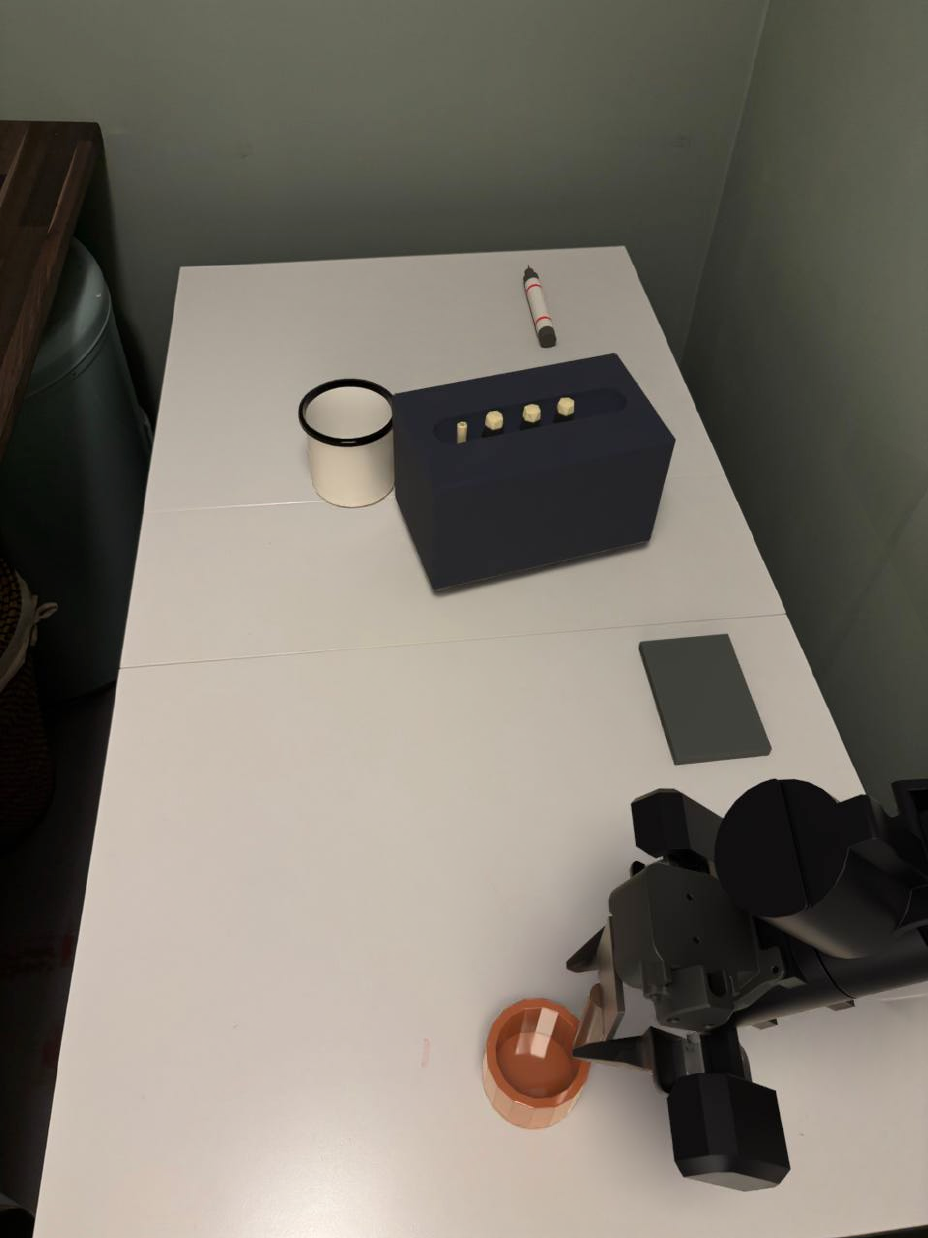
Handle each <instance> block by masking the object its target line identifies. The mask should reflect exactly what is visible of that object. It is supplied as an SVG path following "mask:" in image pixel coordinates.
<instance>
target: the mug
mask: <svg viewBox="0 0 928 1238" xmlns="http://www.w3.org/2000/svg"><path fill="white" fill-rule="evenodd" d="M393 395H394V394H393V393H392V392H390V390H389V389H387V388H386V387H384V386H382V385H381V384H379V383H376V382H373V381H371V380H367V379H361V378H339V379H334V380H329V381H326V382H323V383H321V384H319V385H317V386H315V387H313V388H312V389H310V391H308V392H306V394H305V395H304V396H303V398H302V399H301V400H300V401H299V402H300V403H299V405H298V411H297V418H298V423H299V425H300V427H301V428H302V430H303V432H305V433H306V441H307V443H306V444H307V450H308V451H307V452H308V456H309V457H308V458H309V467H310V476H311V482H312V487H313V489H314V490H315V492H316V493H317V494H318V496H319V497H321V498H322V499H323V500H325V501H326V502H329V503H331V504H333V505H336V506H339V507H340V506H341V507H347V508H357V507H358V508H359V507H364V506H367V505H371V504H374V503H376V502H379V501H380V500H382V499H383V498H384V497H386V496H387V495H388V494H389V493H390V492H391V490H392V489H393V487H394V486H395V476H394V450H393V423H392V396H393Z"/></svg>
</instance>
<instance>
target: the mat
mask: <svg viewBox="0 0 928 1238" xmlns="http://www.w3.org/2000/svg"><path fill="white" fill-rule="evenodd" d="M638 645H639V646H638V651H639V655H640V657H641V661H642V665H643V667H644V670H645V674H646V677H647V681H648V684H649V687H650V690H651V693H652V697H653V699H654V704H655V706H656V709H657V714H658V717H659V719H660V723H661V726H662V730H663V732H664V735H665V739H666V742H667V745H668V746H667V747H668V749H669V751H670V755H671V758H672V761H673V764H674V766H682V765H690V764H699V763H709V762H717V761H728V760H736V759H737V760H739V759H746V758H747V759H748V758H756V757H765V756H770V754H771V752H772V750H773V749H772V746H771V742H770V740H769V737H768V735H767V733H766V729H765V726H764V724H763V722H762V719H761V716H760V714H759V712H758V711H759V710H758V708H757V706H756V704H755V701H754V699H753V696H752V693H751V690H750V688H749V685H748V683H747V679H746V677H745V675H744V672H743V670H742V666H741V664H740V662H739V659H738V657H737V654H736V652H735V649H734V646H733V644H732V641H731V638H730V636H729V633H719V634H718V633H717V634H708V635H699V636H698V635H697V636H687V637H675V638H664V639H654V640H643V641H640V642H639V644H638Z"/></svg>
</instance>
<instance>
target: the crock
mask: <svg viewBox="0 0 928 1238" xmlns="http://www.w3.org/2000/svg"><path fill="white" fill-rule="evenodd" d="M579 1021H580V1019H579V1018H578V1017H576V1015H574V1013H572V1012H571V1011H570V1010H568V1009H567V1008H566V1007H565V1006H564V1005H562V1004H561V1003H558V1002H554V1001H552V1000H548V999H546V998H542V997H541V998H526V999H525V998H524V999H521V1000H519V1001H517V1002H515V1003H513V1004H511V1005H509V1006H507V1007H506V1008H505V1009H503V1010H502V1011H501V1013H500V1014H499V1015H498V1016H497V1018H496V1019H495V1020H494V1021H493V1022H492V1024H491V1027H490V1029H489V1033H488V1036H487V1039H486V1043H485V1048H484V1055H483V1061H482V1082H483V1088H484V1091H485V1095H486V1097H487V1100H488V1101H489V1103H490V1105H491V1106H492V1108H493V1109H494V1110H495V1112H496V1113H497V1114H498V1115H499V1116H500V1117H501V1118H502V1119H504V1120H505V1121H506V1122H508V1123H510V1124H512V1125H514V1126H516V1127H518V1128H521V1129H526V1130H541V1129H546V1128H550V1127H552V1126H554V1125H556V1124H558V1123H559V1122H561V1121H562V1120H563V1119H564V1118H566V1117H567V1116H568V1114H569V1113H570V1112H571V1111H572V1109H573V1108H574V1106H575V1105H576V1104H577V1102H578V1100H579V1098H580V1095H581V1094H582V1092H583V1090H584V1087H585V1085H586V1083H587V1080H588V1077H589V1072H590V1070H591V1069H590V1068H591V1065H592V1062H587V1061H582V1060H579V1059H576V1058H573V1057H572V1049H573V1047H572V1041H573V1038H574V1035H575V1033H576V1030H577V1027H578V1024H579Z"/></svg>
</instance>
